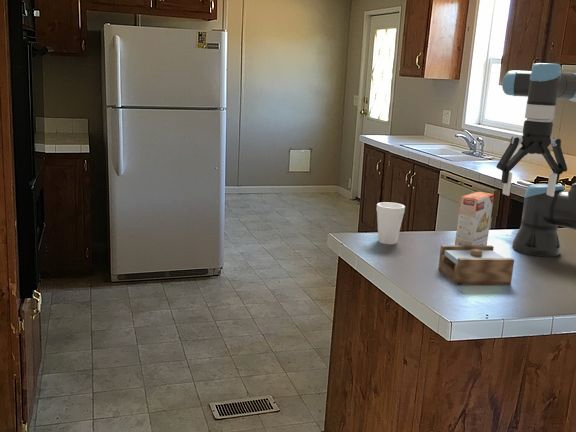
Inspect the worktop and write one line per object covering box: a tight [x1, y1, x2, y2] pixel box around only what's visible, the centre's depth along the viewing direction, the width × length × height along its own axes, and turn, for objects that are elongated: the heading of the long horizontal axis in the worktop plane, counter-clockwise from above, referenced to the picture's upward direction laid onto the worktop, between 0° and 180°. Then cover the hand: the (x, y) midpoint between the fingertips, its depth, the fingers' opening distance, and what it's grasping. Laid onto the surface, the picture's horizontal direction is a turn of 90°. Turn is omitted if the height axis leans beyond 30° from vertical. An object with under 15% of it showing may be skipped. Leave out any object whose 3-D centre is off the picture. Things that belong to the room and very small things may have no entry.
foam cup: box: [376, 201, 406, 245], centre depth 207 cm, size 10×9×13 cm
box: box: [437, 244, 515, 286], centre depth 175 cm, size 16×14×8 cm
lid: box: [444, 249, 505, 265], centre depth 174 cm, size 15×10×3 cm
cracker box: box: [454, 191, 495, 246], centre depth 192 cm, size 14×6×21 cm, turn 141°
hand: (528, 195), depth 172 cm, fingers open, 13 cm apart
